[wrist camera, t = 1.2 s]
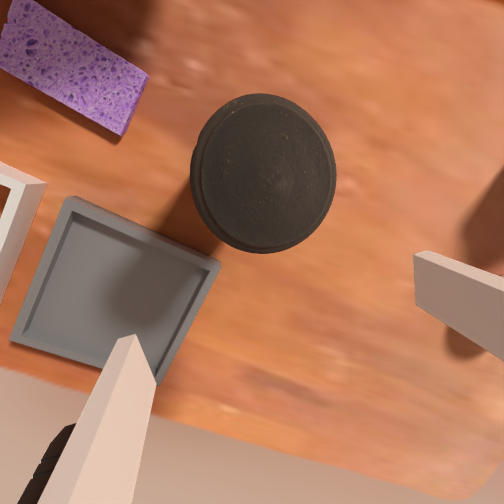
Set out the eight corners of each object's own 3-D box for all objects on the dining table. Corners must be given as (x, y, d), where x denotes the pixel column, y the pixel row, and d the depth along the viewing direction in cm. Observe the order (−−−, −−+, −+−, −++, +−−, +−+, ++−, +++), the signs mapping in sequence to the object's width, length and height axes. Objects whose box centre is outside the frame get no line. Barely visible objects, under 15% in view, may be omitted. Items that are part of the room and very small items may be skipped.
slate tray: (21, 328, 35) (8, 340, 33) (75, 195, 32) (65, 197, 30) (162, 373, 40) (159, 386, 37) (219, 261, 37) (221, 267, 35)
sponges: (27, 0, 28) (16, -12, 26) (152, 79, 31) (149, 73, 29) (1, 69, 29) (-12, 62, 27) (124, 138, 32) (119, 136, 30)
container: (195, 211, 35) (187, 257, 16) (197, 132, 33) (190, 75, 14) (265, 215, 36) (333, 261, 17) (271, 140, 34) (358, 98, 15)
